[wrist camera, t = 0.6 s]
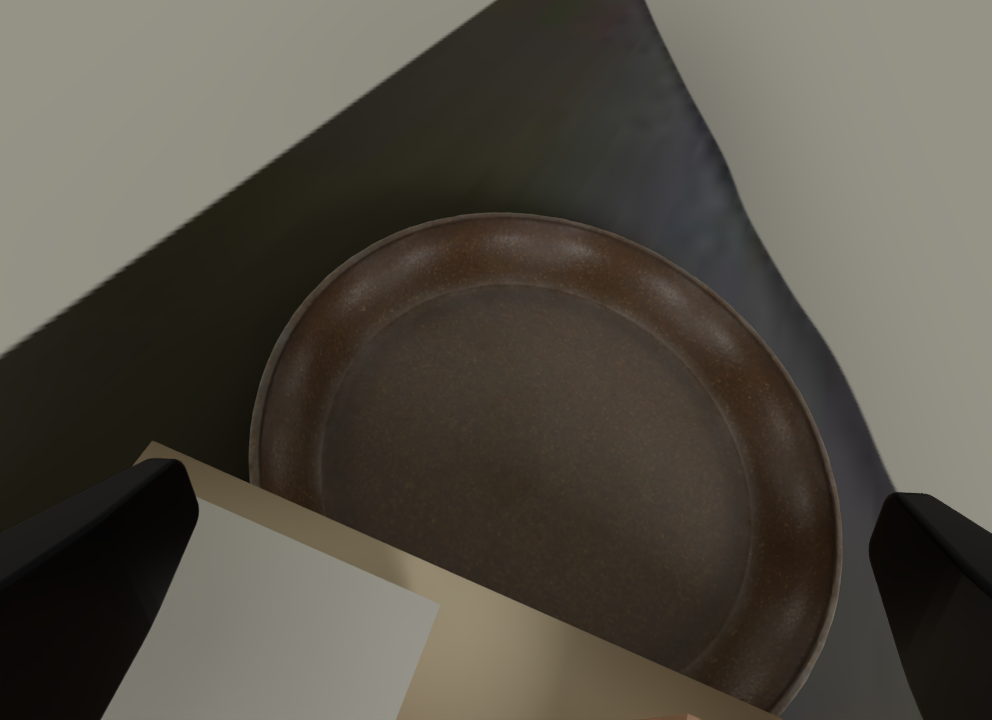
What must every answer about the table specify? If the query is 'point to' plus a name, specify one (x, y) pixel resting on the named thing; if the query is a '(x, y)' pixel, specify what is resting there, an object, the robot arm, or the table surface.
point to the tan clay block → (674, 717)
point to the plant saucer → (565, 442)
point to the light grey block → (273, 634)
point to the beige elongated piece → (482, 633)
